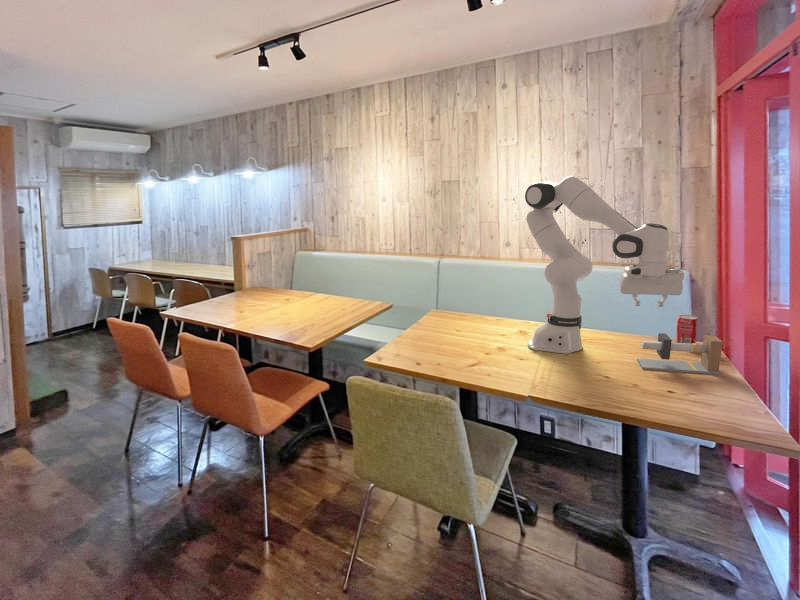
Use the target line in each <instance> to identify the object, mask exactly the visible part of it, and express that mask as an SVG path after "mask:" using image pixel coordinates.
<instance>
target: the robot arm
mask: <svg viewBox="0 0 800 600" xmlns="http://www.w3.org/2000/svg"><path fill="white" fill-rule="evenodd" d="M524 200H525V202H526V204H527V205H528V206H529V207H531V208H532V209H530V211H529V212H528V213H527V216H526V218H525V221H526V223H527V226H528V228H529V230H530V232H531V235H532V236H533V238H534V240H535V243H536V244H537V245H538V247H539V249H540V250H541V252H542V253H543V254H544V255H545V256H547V257H548V258H550V259H551V260H552V261H551V262H550V263H549V264H547V265H546V267H545V269H544V277H545V279H546V281H547V282H548V283H549V285H550V286H551V287H550V288H551V292H552V297H553V298H552V299H553V300H552V301H553V302H552V305H553V307H552V313H551V312H547V313H546V318H547V322H545V323H544V324H543V325H541V326H539V327H538V328H536V329H535V331H534V334H533V337H531V338H529V340H528V342H527V346H528V348H530V350H534V351H540V352H547V353H548V352H550V353H556V354H557V353H558V354H566V355H568V354H571V353H573V352H574V353H575V352H579V351H581V350H583V347H584V346H583V343H582V335H581V329H582V324H583V317H582V315H581V314H582V313H581V312H582V297H581V294H579V292H578V287H577V282H579V281H580V282H581V281H582V280H584V279H586V278H587V277H589V275H591V274H592V272H593V263H592V260H591V259H590V258H589V257H587V256H586V255H584V254H582V253H581V252H580V251H579V250H578V249H577V248H576V247H575V246H574V245H573V244H572V243H571V241H570V240H568V238H567V237H566V234H565V233H564V231H563V230H562V228H561V227H560V225H559V224H558V221H556V219H555V217H554V213H557V212H558V211H559V209H560V208H561V207H562V206H565V207H566V208H568V209H569V211H570V212H571V213H572V214H573V215H574V216H576V217H578V218H579V219H580V220H583V221H588V222H593V223H594V222H595V223H599V224H601V225H604V226H606V227H607V228H609V229H610V230H611V232H613V233H615V234H616V235H617V236H616V237H614V240H613V241H612V245H611V249H612V251H613V253H614V255H615V256H617V258H618V257H619V258H620V259H627V260H628V259H632V258H638V263H636V264H631V265H627V266H625V267H624V273H623V274H622V276H621V279H620V282H619V289H618V290H619V292H620V293H621V294H622V295H631V297H632V299H633V300H634V306H635V307H640V306H641V301H640V300H638V299H637V298H638V295H653V296H655V295H657V296H661V299H660V300H658V301H657V305H656V306H657V307H658V308H659V307H660V308H661V307H662V308H663V307H664V303H665V302H666V300H668V296H681V294H683V281H684V279H685V273H684V271H682V270H681V269H678V268H677V269H671V268H669V269H668V268H667V267H668V266H667V265H668V258H667V255H668V254H667V253H668V251H669V246H670V245H669V244H670V232H669V229H668V227H667V226H665V225H662V224H659V223H652V222H651V223H645V224H643V225H642V226H641V227H637V226H635V225H634V224H632V223H631V222H630V221H629V220H628V219H627V218H625V217H624V216H623V215H621V214H620V213H619V212H618V211H617V210H615V209H614V208H613V207H612V206H611V205H609V204H608V203H607V202H606V201H605V200H604V199H603V198H602V197H601V196H600V195H599V194H598V193H597V192H596V191H595V190H594V189H593V188H592V187H591V186H589V185H588V184H587V183H586V182H583V180H581V179H579V178H578V177H576V176H572V175H569V176H566V177H564V178H563V179H561V180H560V181H559V182H553V181H544V182H541V181H540V182H535V183H532V184H531V185H529V186H528V187H527V189H526V190H525V194H524Z"/></svg>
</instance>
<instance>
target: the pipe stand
mask: <svg viewBox="0 0 800 600" xmlns="http://www.w3.org/2000/svg"><path fill="white" fill-rule="evenodd" d="M723 343H724V341H723V340H721V339H720V338H719V337H717V336H716V335H712V334H711V335H710V334H709V335H708V334H707V335H706V334H704V335H703V343H697V342H696V343H693V344H689V343H675V342H671V351H670V352H689V353H690V352H691V353H701V358H700V359H701V360H700V362H696V361H689V360H688V361H685V360H684V361H681V360H667V359H649V358H637V359H636V361H637V363H638V364H639V366H640V368H641V369H642V370H646V371H647V370H648V371H649V370H651V371H662V372H677V373H691V374H693V373H694V374H704V375H705V374H706V375H719V376H720V375H721V371H720V364H721V356H722V349H723ZM641 347H642V349H643V350H655V351H657V350H661V349H662V342H658V341H652V340H651V341H649V340H643V341H642V343H641Z"/></svg>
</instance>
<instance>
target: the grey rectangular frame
mask: <svg viewBox="0 0 800 600" xmlns="http://www.w3.org/2000/svg"><path fill="white" fill-rule="evenodd" d="M672 341H673V340H672V339H671V337H670V336H669V335H668V334H667V333H664V332H663V333H661V332H660V333H658V337H657V342H662V349H661V350H656V353H657V355H658V356H659V358H660V360H668V361H671V360H670V357H671V352H672V351H671V343H673V342H672Z"/></svg>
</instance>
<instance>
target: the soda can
mask: <svg viewBox="0 0 800 600" xmlns="http://www.w3.org/2000/svg"><path fill="white" fill-rule="evenodd" d="M698 325H699V321H698V317H697V316H695V315H691V314H690V315H689V314H681V315H678V318H677V322H676V332H675V342H674V343H689V344H693V343H696V344H697V342H696V341H697V333H698V332H697V331H698Z"/></svg>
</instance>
